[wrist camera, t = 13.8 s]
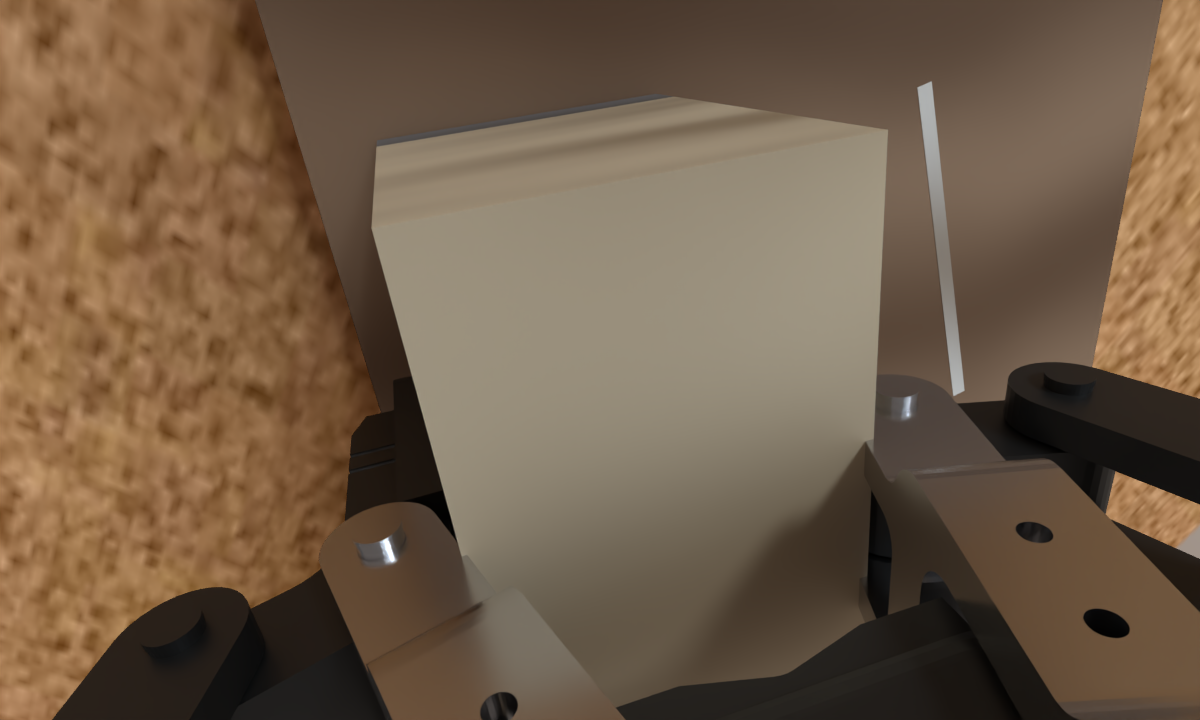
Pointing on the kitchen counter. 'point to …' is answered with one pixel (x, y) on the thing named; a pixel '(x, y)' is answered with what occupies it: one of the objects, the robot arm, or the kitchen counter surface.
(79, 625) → the kitchen counter surface
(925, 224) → the walnut board
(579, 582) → the block
